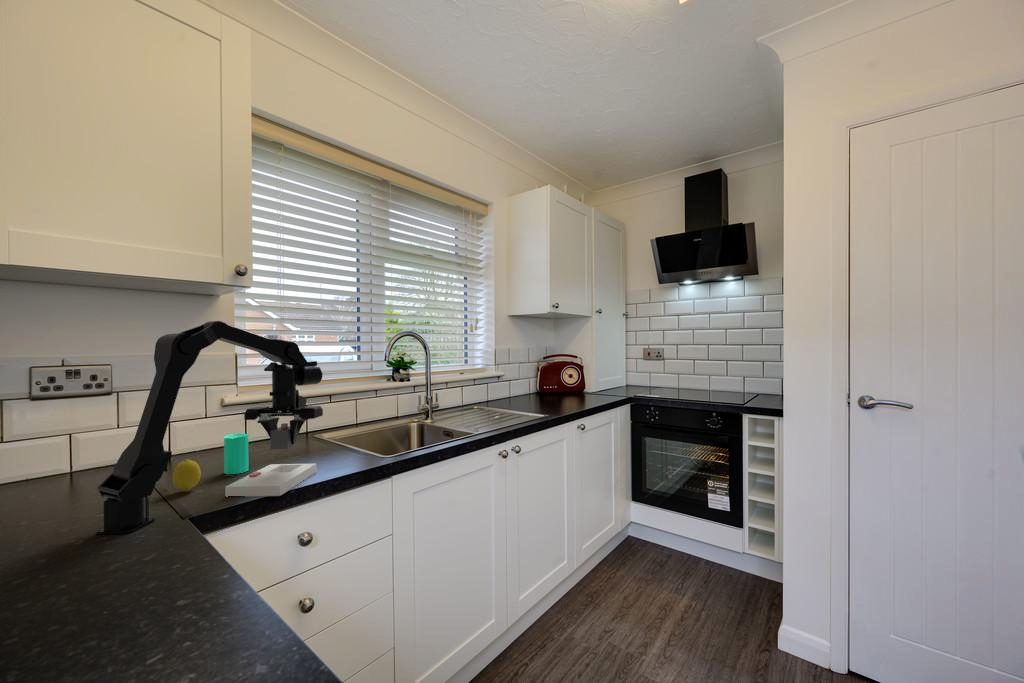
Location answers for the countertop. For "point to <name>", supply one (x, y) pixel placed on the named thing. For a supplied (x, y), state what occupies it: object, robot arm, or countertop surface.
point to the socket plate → (271, 480)
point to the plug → (281, 437)
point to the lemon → (186, 475)
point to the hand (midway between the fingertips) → (284, 444)
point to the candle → (236, 453)
